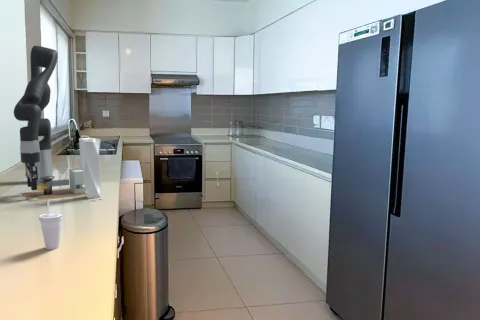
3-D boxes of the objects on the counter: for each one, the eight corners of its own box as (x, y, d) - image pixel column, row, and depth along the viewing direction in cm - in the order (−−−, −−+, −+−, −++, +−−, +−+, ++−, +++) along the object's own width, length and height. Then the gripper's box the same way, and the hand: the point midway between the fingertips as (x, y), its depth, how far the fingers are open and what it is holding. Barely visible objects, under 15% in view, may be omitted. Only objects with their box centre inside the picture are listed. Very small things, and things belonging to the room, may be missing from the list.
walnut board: (21, 195, 198) (20, 192, 198) (75, 189, 211) (75, 187, 211) (29, 204, 181) (29, 201, 181) (88, 197, 194) (88, 194, 194)
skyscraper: (85, 202, 186) (82, 136, 182) (82, 198, 192) (79, 134, 188) (104, 200, 189) (101, 135, 185) (101, 196, 196) (98, 134, 192)
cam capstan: (20, 198, 186) (18, 180, 185) (34, 191, 200) (33, 175, 199) (59, 197, 187) (58, 180, 186) (70, 190, 201) (69, 175, 200)
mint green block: (33, 198, 187) (33, 197, 187) (38, 198, 186) (38, 197, 186) (28, 199, 184) (28, 199, 184) (33, 200, 183) (33, 199, 183)
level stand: (70, 190, 203) (69, 169, 202) (79, 189, 206) (78, 168, 204) (76, 194, 195) (75, 172, 194) (86, 193, 197) (85, 171, 196)
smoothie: (45, 244, 131) (42, 198, 129) (67, 243, 132) (64, 198, 130) (37, 251, 125) (34, 203, 123) (60, 250, 125) (57, 203, 124)
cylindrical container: (100, 190, 209) (98, 138, 206) (89, 193, 203) (87, 139, 199) (89, 189, 212) (87, 137, 209) (78, 192, 206) (75, 138, 202)
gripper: (17, 150, 191) (19, 186, 193) (23, 153, 180) (25, 192, 182) (36, 149, 196) (38, 184, 198) (43, 152, 184) (45, 190, 186)
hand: (32, 188), depth 190 cm, fingers open, 8 cm apart
